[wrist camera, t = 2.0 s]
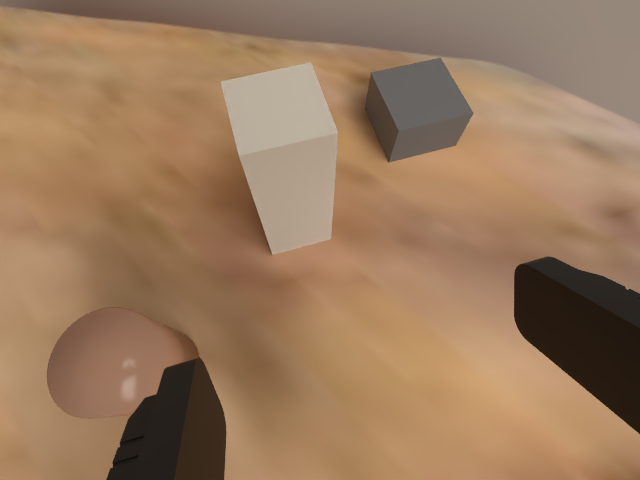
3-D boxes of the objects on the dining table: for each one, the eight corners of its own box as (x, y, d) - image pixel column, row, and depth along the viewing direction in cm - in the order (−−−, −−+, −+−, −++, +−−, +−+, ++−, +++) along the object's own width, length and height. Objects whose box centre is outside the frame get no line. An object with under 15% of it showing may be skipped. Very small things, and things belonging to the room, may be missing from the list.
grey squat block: (388, 163, 30) (398, 130, 26) (364, 109, 32) (371, 72, 29) (454, 147, 31) (473, 113, 27) (426, 95, 33) (440, 57, 29)
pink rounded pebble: (125, 422, 22) (46, 433, 16) (119, 342, 24) (47, 323, 18) (206, 397, 23) (161, 399, 16) (194, 321, 25) (150, 295, 18)
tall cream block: (272, 255, 27) (238, 156, 16) (259, 203, 28) (220, 81, 17) (330, 239, 27) (338, 132, 16) (314, 189, 29) (311, 62, 18)
